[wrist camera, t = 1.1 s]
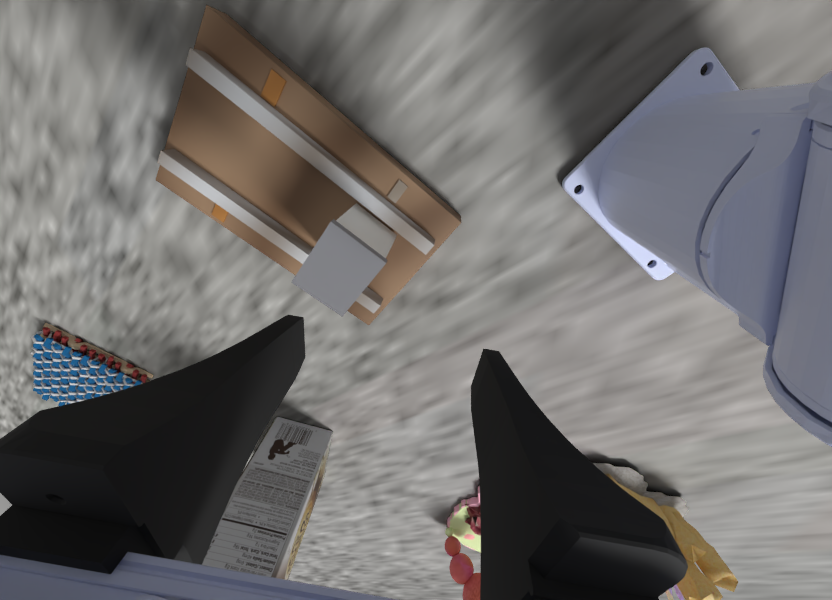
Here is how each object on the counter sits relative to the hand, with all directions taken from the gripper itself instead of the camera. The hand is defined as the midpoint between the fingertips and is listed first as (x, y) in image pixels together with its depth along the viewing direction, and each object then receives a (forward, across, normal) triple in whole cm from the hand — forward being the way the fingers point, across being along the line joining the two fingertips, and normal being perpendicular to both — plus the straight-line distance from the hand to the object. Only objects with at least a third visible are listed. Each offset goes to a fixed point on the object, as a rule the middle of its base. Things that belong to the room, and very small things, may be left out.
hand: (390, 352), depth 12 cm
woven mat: (+12, +30, +20) cm, 38 cm away
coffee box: (+11, +9, +25) cm, 28 cm away
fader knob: (+9, +4, -1) cm, 9 cm away
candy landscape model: (+11, -22, +30) cm, 38 cm away
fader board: (+10, +7, -3) cm, 13 cm away
